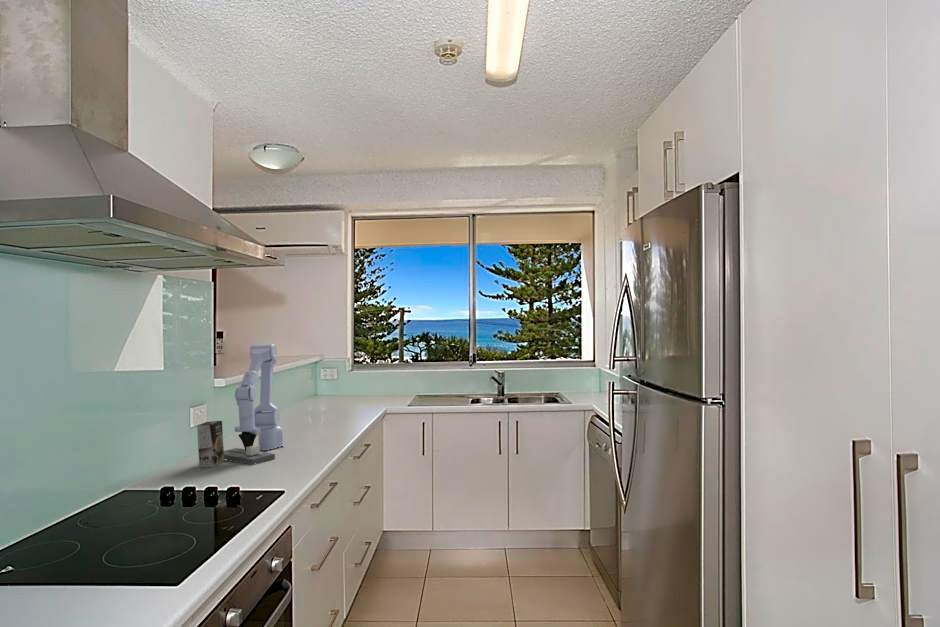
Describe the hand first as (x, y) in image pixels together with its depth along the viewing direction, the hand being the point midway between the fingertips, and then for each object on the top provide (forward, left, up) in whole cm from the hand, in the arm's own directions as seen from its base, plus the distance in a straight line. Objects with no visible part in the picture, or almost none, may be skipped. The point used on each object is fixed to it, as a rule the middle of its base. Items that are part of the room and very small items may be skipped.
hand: (248, 451), depth 255 cm
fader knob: (0, +3, -1) cm, 3 cm away
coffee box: (+12, -6, -3) cm, 14 cm away
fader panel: (0, -3, -3) cm, 5 cm away
